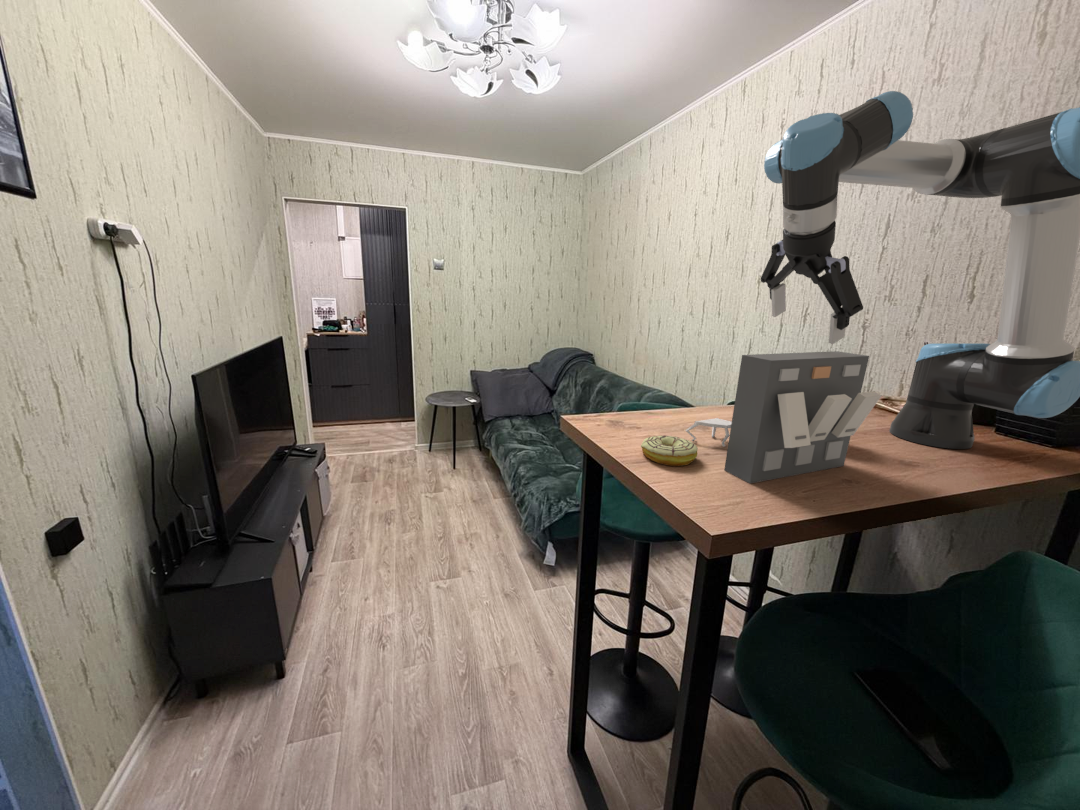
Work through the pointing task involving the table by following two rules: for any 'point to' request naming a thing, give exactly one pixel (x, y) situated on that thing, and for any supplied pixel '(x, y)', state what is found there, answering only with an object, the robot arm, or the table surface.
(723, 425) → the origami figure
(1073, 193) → the robot arm
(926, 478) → the table surface
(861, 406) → the bar
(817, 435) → the middle rocker
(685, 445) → the decorated donut
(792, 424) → the rocker
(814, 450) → the power box
